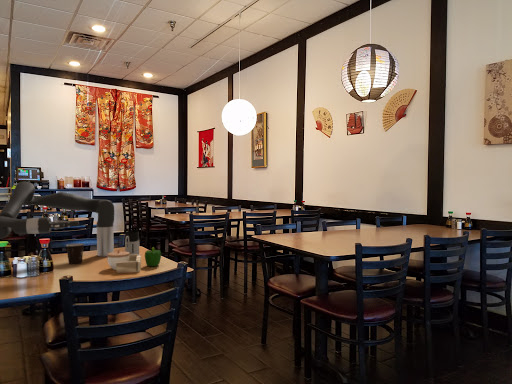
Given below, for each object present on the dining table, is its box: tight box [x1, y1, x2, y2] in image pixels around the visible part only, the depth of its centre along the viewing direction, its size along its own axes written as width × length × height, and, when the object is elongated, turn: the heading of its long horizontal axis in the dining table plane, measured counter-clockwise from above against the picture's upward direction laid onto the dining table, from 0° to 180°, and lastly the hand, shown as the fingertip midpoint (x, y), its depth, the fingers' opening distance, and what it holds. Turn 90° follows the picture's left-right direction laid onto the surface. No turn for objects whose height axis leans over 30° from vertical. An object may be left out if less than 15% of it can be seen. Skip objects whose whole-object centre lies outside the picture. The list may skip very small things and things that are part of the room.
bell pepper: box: [144, 246, 162, 267], centre depth 198 cm, size 8×8×10 cm
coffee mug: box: [65, 243, 85, 265], centre depth 203 cm, size 12×9×10 cm
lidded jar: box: [106, 249, 130, 271], centre depth 192 cm, size 11×11×9 cm
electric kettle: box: [124, 230, 140, 255], centre depth 216 cm, size 9×14×15 cm, turn 178°
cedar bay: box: [115, 253, 142, 274], centre depth 193 cm, size 20×11×5 cm, turn 16°
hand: (78, 223), depth 185 cm, fingers closed
